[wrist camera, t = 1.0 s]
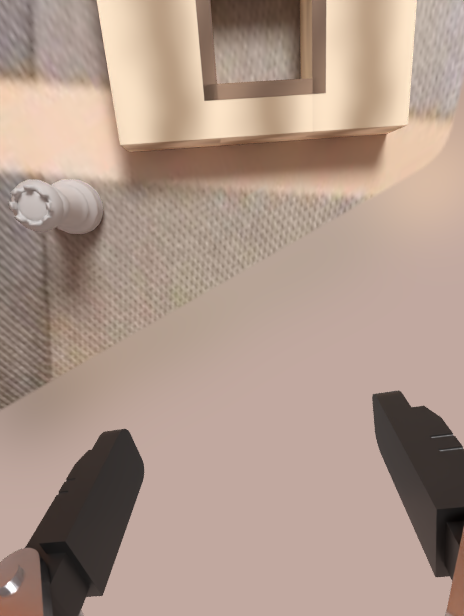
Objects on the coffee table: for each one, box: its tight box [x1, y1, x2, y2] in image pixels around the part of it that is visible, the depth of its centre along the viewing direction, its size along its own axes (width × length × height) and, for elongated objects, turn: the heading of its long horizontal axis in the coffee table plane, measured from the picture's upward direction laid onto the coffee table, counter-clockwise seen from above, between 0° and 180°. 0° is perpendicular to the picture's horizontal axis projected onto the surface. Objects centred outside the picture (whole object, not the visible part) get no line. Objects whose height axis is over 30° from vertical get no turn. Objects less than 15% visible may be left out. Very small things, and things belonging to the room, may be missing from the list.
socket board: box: [97, 0, 417, 152], centre depth 24 cm, size 22×14×3 cm, turn 95°
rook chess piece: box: [8, 179, 103, 234], centre depth 24 cm, size 4×4×8 cm
